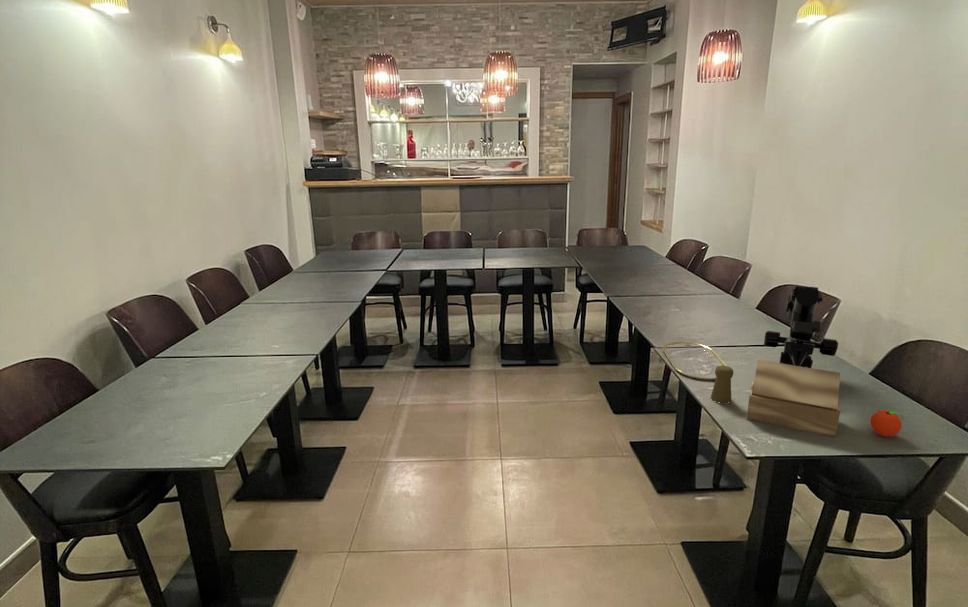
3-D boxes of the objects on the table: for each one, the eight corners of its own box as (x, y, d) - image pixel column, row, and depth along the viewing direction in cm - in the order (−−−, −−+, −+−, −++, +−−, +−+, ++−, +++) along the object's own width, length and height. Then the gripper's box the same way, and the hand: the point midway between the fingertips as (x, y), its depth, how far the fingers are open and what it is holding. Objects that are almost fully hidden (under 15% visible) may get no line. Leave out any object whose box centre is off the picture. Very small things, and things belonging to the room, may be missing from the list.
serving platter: (704, 345, 214) (705, 341, 214) (737, 382, 181) (738, 378, 180) (657, 345, 216) (657, 341, 215) (681, 381, 182) (681, 377, 182)
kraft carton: (749, 402, 166) (752, 379, 164) (832, 418, 156) (837, 394, 154) (746, 418, 156) (749, 395, 154) (835, 437, 146) (840, 412, 144)
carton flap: (757, 360, 159) (757, 359, 158) (839, 373, 149) (840, 372, 149) (752, 393, 154) (752, 393, 153) (837, 409, 144) (837, 408, 144)
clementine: (889, 427, 150) (894, 404, 148) (909, 440, 144) (915, 417, 142) (861, 428, 150) (866, 405, 148) (880, 441, 143) (885, 417, 141)
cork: (713, 393, 172) (717, 361, 169) (733, 398, 169) (737, 366, 166) (707, 400, 168) (711, 367, 165) (728, 405, 164) (732, 372, 161)
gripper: (769, 305, 161) (762, 351, 155) (843, 313, 152) (838, 363, 146) (767, 322, 170) (760, 367, 164) (836, 331, 161) (832, 378, 155)
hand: (796, 368), depth 157 cm, fingers closed
